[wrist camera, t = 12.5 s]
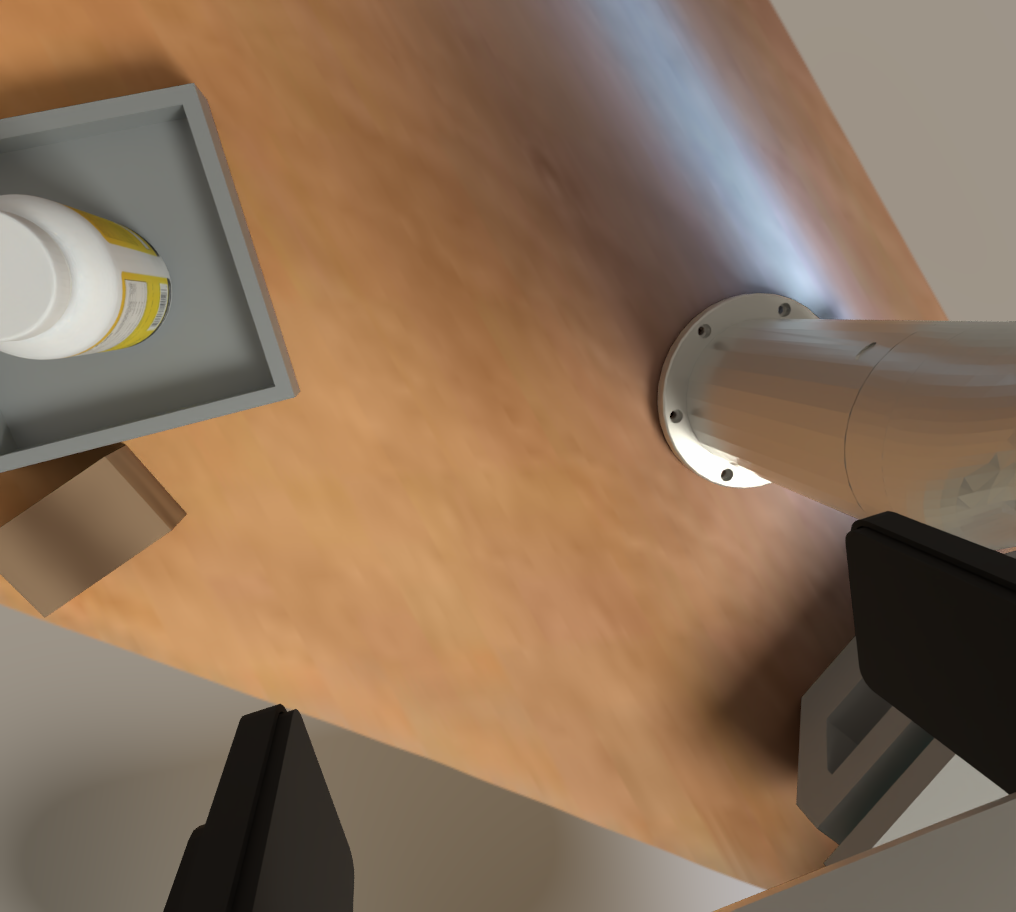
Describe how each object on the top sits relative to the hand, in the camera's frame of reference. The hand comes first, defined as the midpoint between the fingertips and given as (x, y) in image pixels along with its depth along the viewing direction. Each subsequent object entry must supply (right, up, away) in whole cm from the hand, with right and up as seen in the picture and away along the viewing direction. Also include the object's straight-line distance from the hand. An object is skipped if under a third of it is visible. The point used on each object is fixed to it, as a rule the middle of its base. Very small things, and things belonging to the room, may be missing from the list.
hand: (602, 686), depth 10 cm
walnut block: (-25, 0, +27) cm, 36 cm away
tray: (-23, +13, +24) cm, 36 cm away
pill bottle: (-22, +13, +24) cm, 35 cm away
